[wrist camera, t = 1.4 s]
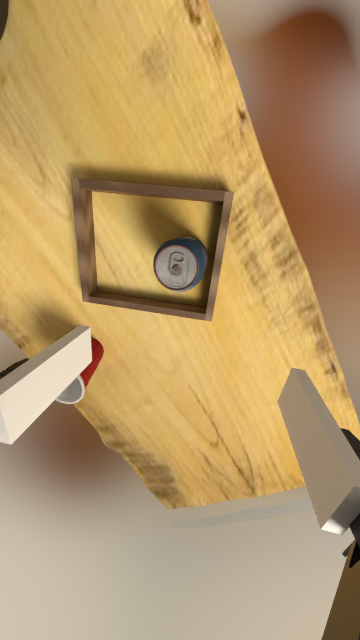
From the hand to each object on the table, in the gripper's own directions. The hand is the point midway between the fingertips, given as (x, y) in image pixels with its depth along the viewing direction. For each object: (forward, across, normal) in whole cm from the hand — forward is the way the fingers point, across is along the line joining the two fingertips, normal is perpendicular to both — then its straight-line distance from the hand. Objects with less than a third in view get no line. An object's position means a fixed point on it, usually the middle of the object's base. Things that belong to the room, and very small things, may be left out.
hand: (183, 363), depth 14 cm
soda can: (+27, -4, +3) cm, 28 cm away
